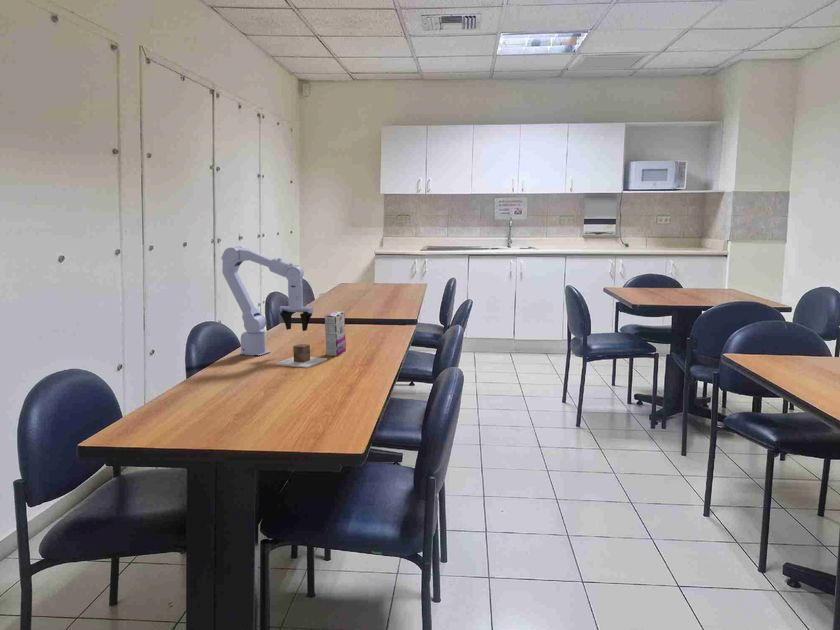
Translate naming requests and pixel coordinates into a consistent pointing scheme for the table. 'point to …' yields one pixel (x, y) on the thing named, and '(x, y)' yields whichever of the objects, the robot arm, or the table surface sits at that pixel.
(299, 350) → the walnut block
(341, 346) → the candy bar box
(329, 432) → the table surface
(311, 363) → the pad
